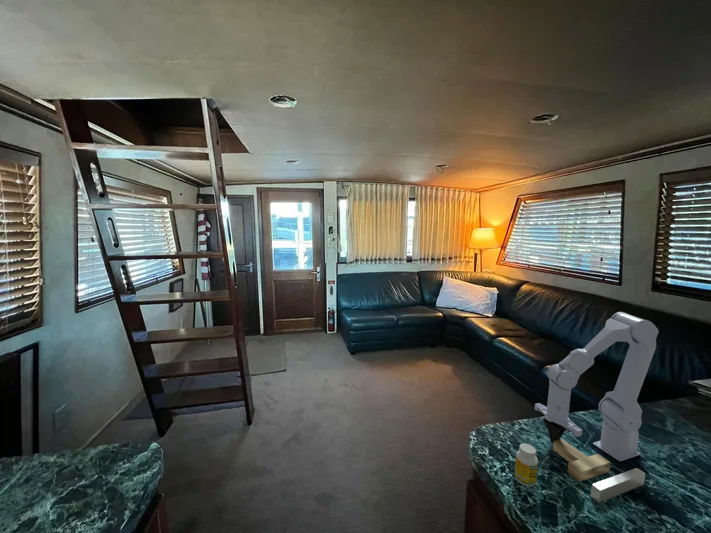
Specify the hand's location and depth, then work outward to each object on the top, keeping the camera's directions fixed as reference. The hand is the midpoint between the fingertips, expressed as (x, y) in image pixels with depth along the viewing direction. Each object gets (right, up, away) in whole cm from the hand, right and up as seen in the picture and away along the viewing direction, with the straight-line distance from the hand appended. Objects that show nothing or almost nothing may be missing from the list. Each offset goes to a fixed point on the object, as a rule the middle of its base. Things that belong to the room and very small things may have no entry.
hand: (554, 442), depth 98 cm
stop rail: (+7, -4, -16) cm, 18 cm away
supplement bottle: (-17, -3, -13) cm, 21 cm away
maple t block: (+2, -2, -6) cm, 7 cm away
